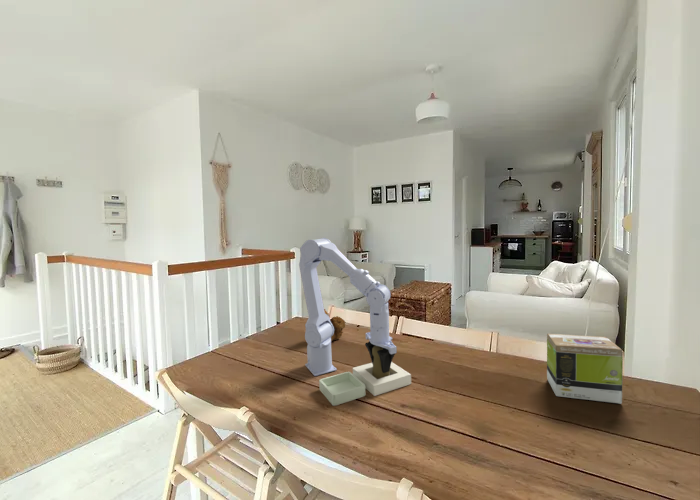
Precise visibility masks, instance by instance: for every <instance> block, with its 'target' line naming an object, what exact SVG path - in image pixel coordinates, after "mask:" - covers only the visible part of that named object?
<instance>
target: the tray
mask: <svg viewBox="0 0 700 500" xmlns="http://www.w3.org/2000/svg"><path fill="white" fill-rule="evenodd" d="M318 383H319V391H320V392H321V393H322V394H323V396H324V397H325V398H326V399H327V401H328V402H329V403H330V404H331V405H332V406H334V407H335V406H339V405H340V404H341V405H342V404H344V403H348V402H351V401H354V400H356V399H360V398H363V397H365V396H366V388H365V384H363V383H362V382H361V381H360V380H359V379H358V378H357V377H355V376H354V375H353V372H351V371H345V372H341V373H338V374H334V375H331V376H327V377H323V378H320V379H319V380H318Z"/></svg>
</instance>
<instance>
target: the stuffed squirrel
mask: <svg viewBox="0 0 700 500" xmlns="http://www.w3.org/2000/svg"><path fill="white" fill-rule="evenodd" d="M324 311H325V314H327V315H328V316H329V317H330V314H329V313H328V311H327V310H326V308H324ZM330 321H331V323H332V325H333V327H334V334H333V335H332V337H331V342H333V341H335V340H336V341H337V340H339V339H341V337H342V336H343V330H344V329H345V328H346V323H347V322H346V321H345V320H344V319H343V318H341V316H333V317H331V318H330Z"/></svg>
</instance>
